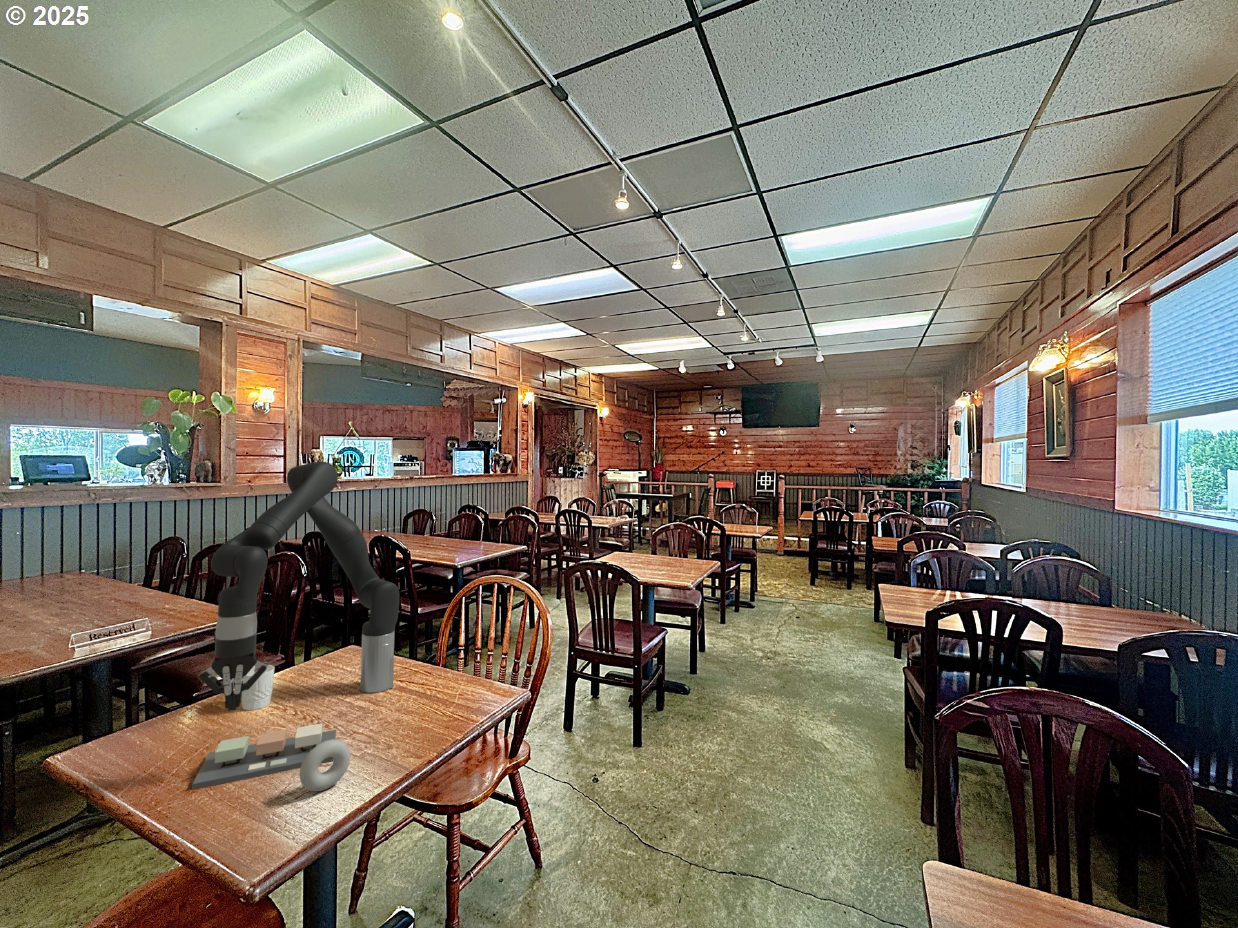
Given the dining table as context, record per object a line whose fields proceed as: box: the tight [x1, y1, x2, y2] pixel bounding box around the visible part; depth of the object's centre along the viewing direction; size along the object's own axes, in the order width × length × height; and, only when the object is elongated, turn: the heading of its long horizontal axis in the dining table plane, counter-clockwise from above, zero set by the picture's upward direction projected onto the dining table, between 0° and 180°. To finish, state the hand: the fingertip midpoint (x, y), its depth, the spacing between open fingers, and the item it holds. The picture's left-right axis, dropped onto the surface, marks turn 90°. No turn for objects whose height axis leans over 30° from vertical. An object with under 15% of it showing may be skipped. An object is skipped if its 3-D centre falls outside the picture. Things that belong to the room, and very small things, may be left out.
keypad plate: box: [191, 729, 337, 790], centre depth 119 cm, size 26×13×2 cm, turn 117°
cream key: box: [294, 723, 323, 750], centre depth 122 cm, size 5×5×4 cm
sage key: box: [215, 735, 250, 765], centre depth 115 cm, size 5×5×4 cm
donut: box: [299, 739, 352, 792], centre depth 109 cm, size 10×4×10 cm, turn 141°
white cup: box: [241, 664, 276, 711], centre depth 145 cm, size 8×8×10 cm
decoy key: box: [256, 729, 288, 758], centre depth 119 cm, size 5×5×4 cm
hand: (232, 709), depth 115 cm, fingers closed
